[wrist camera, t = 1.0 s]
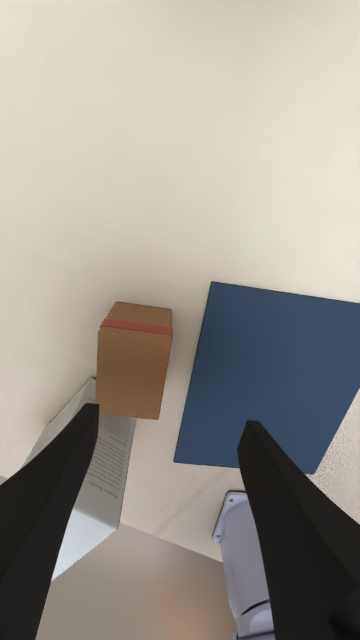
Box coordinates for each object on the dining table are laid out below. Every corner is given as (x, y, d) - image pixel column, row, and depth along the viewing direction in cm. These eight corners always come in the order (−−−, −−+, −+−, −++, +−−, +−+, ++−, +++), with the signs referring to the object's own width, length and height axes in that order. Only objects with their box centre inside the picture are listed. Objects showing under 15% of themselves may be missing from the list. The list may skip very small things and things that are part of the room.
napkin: (312, 472, 29) (314, 474, 29) (173, 460, 28) (173, 462, 28) (397, 309, 22) (400, 310, 21) (211, 281, 20) (212, 282, 20)
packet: (161, 375, 24) (159, 421, 18) (110, 369, 23) (93, 414, 18) (172, 308, 21) (172, 340, 16) (115, 300, 21) (97, 330, 16)
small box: (91, 452, 27) (48, 587, 17) (44, 425, 25) (-33, 558, 16) (140, 406, 25) (121, 532, 15) (92, 374, 23) (35, 492, 14)
